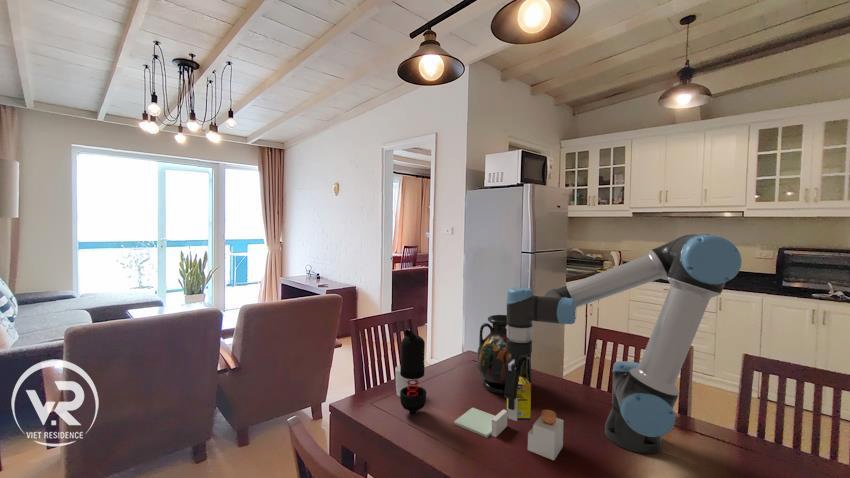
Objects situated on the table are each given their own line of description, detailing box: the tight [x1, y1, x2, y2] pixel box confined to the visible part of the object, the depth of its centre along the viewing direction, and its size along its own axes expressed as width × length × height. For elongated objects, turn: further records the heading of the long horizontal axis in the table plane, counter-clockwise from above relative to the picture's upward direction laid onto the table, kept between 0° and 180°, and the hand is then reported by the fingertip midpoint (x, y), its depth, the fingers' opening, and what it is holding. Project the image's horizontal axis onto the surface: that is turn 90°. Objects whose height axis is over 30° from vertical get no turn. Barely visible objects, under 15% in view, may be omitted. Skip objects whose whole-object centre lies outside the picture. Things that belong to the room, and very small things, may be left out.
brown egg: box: [540, 409, 557, 425], centre depth 103 cm, size 4×4×6 cm
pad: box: [453, 407, 496, 439], centre depth 116 cm, size 12×12×1 cm
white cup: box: [394, 364, 415, 398], centre depth 136 cm, size 8×8×10 cm
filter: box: [399, 329, 427, 416], centre depth 123 cm, size 14×9×30 cm
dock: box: [490, 409, 564, 461], centre depth 107 cm, size 19×8×8 cm, turn 52°
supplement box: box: [506, 377, 532, 421], centre depth 108 cm, size 6×6×11 cm
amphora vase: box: [475, 314, 519, 395], centre depth 144 cm, size 22×22×28 cm
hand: (518, 413), depth 108 cm, fingers closed on supplement box, 8 cm apart
